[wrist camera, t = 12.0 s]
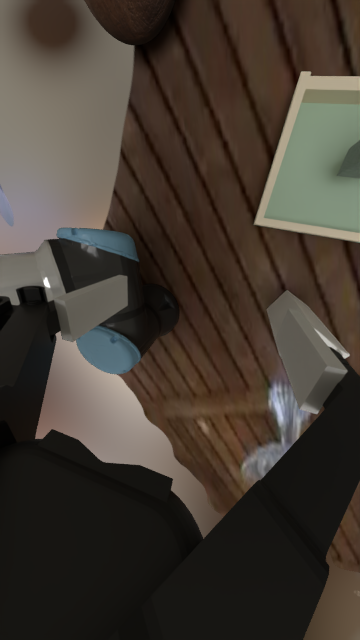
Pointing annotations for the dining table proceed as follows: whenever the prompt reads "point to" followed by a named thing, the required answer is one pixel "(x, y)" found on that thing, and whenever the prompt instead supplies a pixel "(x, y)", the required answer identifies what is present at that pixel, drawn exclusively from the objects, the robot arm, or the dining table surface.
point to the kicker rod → (351, 162)
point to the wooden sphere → (131, 18)
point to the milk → (292, 302)
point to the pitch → (316, 162)
